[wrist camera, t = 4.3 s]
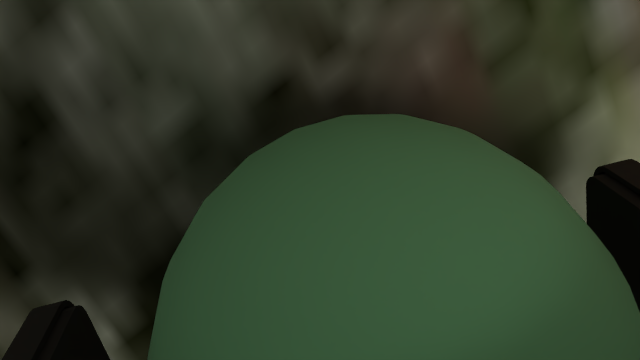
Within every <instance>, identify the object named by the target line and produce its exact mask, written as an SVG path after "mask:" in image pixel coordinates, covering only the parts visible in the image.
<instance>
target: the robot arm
mask: <svg viewBox="0 0 640 360" xmlns="http://www.w3.org/2000/svg"><path fill="white" fill-rule="evenodd" d="M586 204H587V225H588V226H589V227H590V228H591V229H592V231H593V232H594V233H595V234H596V235H597V237H598V238H599V239H600V241H601V242H602V243H603V244H604V246H605V247H606V248H607V250H608V251H609V252H610V253H611V255H612V256H613V258H614V259H615V261H616V263H617V265H618V266H619V268H620V270H621V272H622V273H623V275H624V277H625V279H626V281H627V282H628V284H629V286H630V288H631V291H632V294H633V296H634V299H635V302H636V304H637V307H638V309H639V312H640V163H639V162H637V161H635V160H632V159H628V160H624V161H620V162H616V163H612V164H608V165H604V166H600V167H598V168H597V169H596V170H595V172H594V176H592V177H590V178H588V180H587V183H586ZM2 360H110V358H109V356H108V354H107V352H106V350H105V348H104V346H103V344H102V342H101V340H100V338H99V336H98V334H97V332H96V330H95V328H94V326H93V324H92V322H91V320H90V318H89V316H88V314H87V312H86V311H85V309H84V308H83V307H82V306H80V305H78V306H74V304H72V303H71V302H70V301H67V300H65V301H61V302H57V303H53V304H49V305H45V306H41V307H37V308H34V309H32V311H31V312H30V313H29V315H28V316H27V318H26V320H25V321H24V323H23V325H22V326H21V328H20V330H19V332H18V333H17V335H16V337H15V338H14V340H13V342H12V343H11V345H10V347H9V348H8V350H7V352H6V353H5V355H4V357H3V358H2Z"/></svg>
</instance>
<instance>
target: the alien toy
mask: <svg viewBox="0 0 640 360" xmlns="http://www.w3.org/2000/svg"><path fill="white" fill-rule="evenodd" d="M147 360H640V312H639V309H638V307H637V304H636V302H635V299H634V296H633V294H632V291H631V288H630V286H629V284H628V282H627V281H626V279H625V277H624V275H623V273H622V272H621V270H620V268H619V266H618V265H617V263H616V261H615V259H614V258H613V256H612V255H611V253H610V252H609V251H608V250H607V248H606V247H605V246H604V244H603V243H602V242H601V241H600V239H599V238H598V237H597V235H596V234H595V233H594V232H593V231H592V229H591V228H590V227H589V226H588V225H587V224H586V223H585V221H584V220H583V219H582V218H581V217H580V216H579V215H578V213H577V212H576V211H575V210H574V209H573V208H572V207H571V206H570V204H569V203H568V202H567V201H566V200H565V199H564V198H563V196H562V195H561V194H560V193H559V192H558V191H557V190H556V189H555V188H554V187H553V186H552V185H551V184H550V183H549V182H547V181H546V180H545V179H544V178H543V177H542V176H541V175H540V174H539V173H537V172H536V171H534V170H533V169H531V168H530V167H528V166H527V165H525V164H524V163H522V162H521V161H519V160H517V159H516V158H514V157H512V156H511V155H509V154H507V153H505V152H504V151H502V150H500V149H499V148H497V147H495V146H493V145H492V144H490V143H488V142H487V141H485V140H483V139H481V138H480V137H478V136H476V135H474V134H472V133H470V132H467V131H465V130H463V129H460V128H457V127H453V126H449V125H445V124H440V123H436V122H432V121H428V120H424V119H420V118H416V117H412V116H408V115H402V114H369V115H344V116H340V117H336V118H333V119H329V120H326V121H322V122H319V123H315V124H312V125H308V126H304V127H301V128H297V129H294V130H292V131H291V132H289V133H287V134H285V135H284V136H282V137H280V138H278V139H277V140H275V141H273V142H272V143H270V144H268V145H266V146H265V147H263V148H261V149H259V150H258V151H256V152H254V153H253V154H251V155H249V156H248V157H247V158H246V159H245V160H244V161H243V162H242V163H241V164H240V165H239V166H238V167H237V168H236V169H235V170H234V171H233V172H232V173H231V174H230V175H229V176H228V177H227V178H226V179H225V180H224V181H223V182H222V183H221V184H220V185H219V186H218V187H217V188H216V189H215V190H214V191H213V192H212V193H211V194H210V195H209V196H208V197H207V198H206V199H205V200H204V201H203V203H202V205H201V206H200V208H199V210H198V211H197V213H196V215H195V217H194V219H193V220H192V222H191V224H190V226H189V228H188V229H187V231H186V233H185V235H184V237H183V238H182V240H181V242H180V244H179V246H178V247H177V249H176V251H175V253H174V255H173V256H172V258H171V260H170V262H169V265H168V268H167V270H166V273H165V276H164V279H163V281H162V286H161V291H160V296H159V301H158V307H157V312H156V317H155V322H154V327H153V332H152V337H151V342H150V348H149V353H148V358H147Z"/></svg>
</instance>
